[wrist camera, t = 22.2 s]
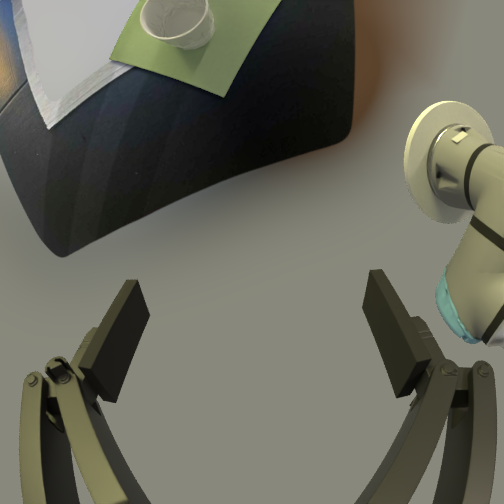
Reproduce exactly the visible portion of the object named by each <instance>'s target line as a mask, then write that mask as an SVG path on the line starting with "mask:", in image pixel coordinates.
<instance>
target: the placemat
mask: <svg viewBox="0 0 504 504" xmlns="http://www.w3.org/2000/svg"><path fill="white" fill-rule="evenodd" d="M146 1H147V0H139V2H138V4H137V5H136V7H135V9H134V11H133V12H132V14H131V16H130V18H129V19H128V21H127V23H126V25H125V27H124V29H123V31H122V33H121V35H120V37H119V39H118V41H117V43H116V45H115V47H114V50H113V52H112V54H111V56H110V58H109V59H110V60H114V61H118V62H122V63H126V64H130V65H133V66H137V67H140V68H144V69H147V70H150V71H153V72H157V73H160V74H163V75H166V76H169V77H172V78H175V79H177V80H180V81H183V82H186V83H189V84H191V85H194V86H197V87H199V88H202V89H204V90H207V91H209V92H212V93H214V94H217V95H219V96H221V97H225V95H226V93H227V91H228V89H229V87H230V85H231V83H232V81H233V79H234V78H235V76H236V74H237V72H238V70H239V69H240V67H241V65H242V63H243V61H244V60H245V58H246V56H247V54H248V53H249V51H250V49H251V47H252V46H253V44H254V42H255V41H256V39H257V37H258V36H259V34H260V32H261V31H262V29H263V28H264V26H265V24H266V23H267V21H268V20H269V18H270V16H271V15H272V13H273V12H274V10H275V9H276V7H277V6H278V4H279V3H280V1H281V0H208V3H209V5H210V8H211V11H212V14H213V17H214V23H215V32H214V34H213V37H212V39H211V40H210V41H208V42H207V43H206V44H205V45H204V46H202V47H199V48H197V49H193V50H183V49H181V48H178V47H174V46H172V45H169V44H167V43H164V42H162V41H160V40H158V39H155V38H153V37H151V36H149V35H148V34H147V33H146V32H145V31H144V30H143V28H142V26H141V23H140V14H141V10H142V8H143V6H144V4H145V2H146Z"/></svg>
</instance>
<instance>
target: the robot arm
mask: <svg viewBox="0 0 504 504" xmlns="http://www.w3.org/2000/svg"><path fill="white" fill-rule="evenodd" d="M427 177H428V181H429V184H430V187H431V189H432V191H433V192H434V194H435V195H436V197H437V198H438V199H440V200H441V201H442V202H444V203H445V204H447V205H448V206H451V207H454V208H459V209H466V210H472V211H475V212H474V214H473V217H472V219H471V221H470V223H469V225H468V228H467V229H466V232H465V234H464V236H463V238H462V240H461V242H460V244H459V246H458V248H457V250H456V251H455V253H454V255H453V257H452V259H451V260H450V262H449V264H448V265H447V266H446V268H445V269H444V274H443V276H442V278H441V279H440V281H439V283H438V285H437V287H436V292H435V297H436V304H437V307H438V309H439V311H440V314H441V316H442V317H443V319H444V321H445V322H446V324H447V325H448V326H449V327H450V329H451V330H452V331H453V332H454V333H455V334H456V335H457V336H458V337H462V338H463V340H464V341H465V342H467V343H470V344H476V343H478V342H480V341H483V342H484V343H485V344H486V345H487V346H488V347H491V346H501V347H502V348H504V148H503V147H500V146H497V145H495V144H492V143H491V142H490V141H489V140H488V139H486V138H485V137H484V136H483V135H482V134H481V133H479V132H478V131H477V130H476V129H474V128H472V127H471V126H468V125H464V124H460V123H454V124H450V125H447V126H445V127H444V128H442V129H441V130H440V131H439V132H438V133H437V135H436V136H435V137H434V139H433V141H432V143H431V145H430V148H429V152H428V156H427ZM362 308H363V311H364V314H365V316H366V318H367V321H368V323H369V326H370V328H371V331H372V333H373V336H374V338H375V341H376V343H377V346H378V349H379V351H380V354H381V357H382V359H383V362H384V365H385V367H386V370H387V373H388V376H389V379H390V382H391V384H392V387H393V390H394V393H395V396H396V398H400V397H404V396H408V395H410V394H411V393H412V391H413V390H414V388H415V390H416V393H417V395H416V397H415V398H414V400H413V401H412V402H411V404H410V406H411V408H410V410H409V412H408V414H407V416H406V418H405V421H404V422H403V425H402V427H401V429H400V431H399V432H398V434H397V436H396V438H395V440H394V442H393V444H392V446H391V448H390V449H389V451H388V453H387V455H386V456H385V458H384V460H383V461H382V463H381V465H380V466H379V468H378V470H377V471H376V473H375V474H374V476H373V478H372V479H371V481H370V482H369V484H368V485H367V487H366V488H365V490H364V491H363V492H362V494H361V495H360V497H359V498H358V499H357V501H356V502H355V503H354V504H408V502H409V501H410V499H411V497H412V495H413V493H414V492H415V490H416V488H417V486H418V484H419V482H420V480H421V478H422V476H423V474H424V472H425V470H426V468H427V466H428V464H429V462H430V459H431V457H432V455H433V452H434V450H435V448H436V445H437V443H438V440H439V438H440V435H441V432H442V430H443V427H444V424H445V421H446V419H447V416H448V422H447V431H446V440H445V447H444V453H443V459H442V465H441V470H440V476H439V480H438V484H437V489H436V492H435V497H434V500H433V504H489V503H490V498H491V492H492V486H493V479H494V470H495V460H496V459H495V458H496V444H497V406H496V389H495V379H494V372H493V368H492V367H491V365H490V364H488V363H487V362H485V361H477V362H476V363H475V364H474V365H473V367H472V368H463V367H458V366H457V365H456V364H455V363H454V362H453V361H451V360H448V359H445V357H444V355H443V353H442V351H441V349H440V348H439V346H438V344H437V342H436V340H435V338H434V337H433V335H432V333H431V331H430V329H429V328H428V326H427V324H426V322H424V321H423V320H422V319H421V318H420V317H419V316H416V317H410V316H409V314H408V312H407V310H406V309H405V307H404V305H403V303H402V302H401V300H400V298H399V296H398V295H397V293H396V291H395V290H394V288H393V286H392V285H391V283H390V281H389V280H388V279H387V277H386V275H385V274H384V272H383V270H382V269H378V270H370V272H369V277H368V282H367V287H366V292H365V297H364V302H363V306H362ZM149 317H150V314H149V312H148V308H147V306H146V303H145V300H144V297H143V294H142V291H141V288H140V285H139V282H138V280H126V282H125V283H124V285H123V286H122V288H121V290H120V291H119V293H118V295H117V296H116V298H115V299H114V301H113V303H112V304H111V306H110V308H109V310H108V311H107V313H106V315H105V316H104V318H103V320H102V322H101V323H100V326H99V327H98V328H95V327H94V328H92V329H91V330H90V331H89V332H88V333H87V334H86V336H85V337H84V339H83V342H82V343H81V345H80V348H78V350H77V352H76V354H75V356H74V358H73V360H72V361H71V363H70V365H69V363H68V362H67V361H66V359H65V358H63V357H55V358H53V359H51V360H50V361H49V362H48V363H47V365H46V367H45V372H46V374H47V375H48V376H49V377H48V378H44V377H43V376H42V375H41V374H40V373H39V372H32V373H30V374H29V375H27V377H26V378H25V380H24V384H23V393H22V402H21V414H20V436H19V453H20V454H19V455H20V477H21V488H22V497H23V504H80V502H79V498H78V493H77V488H76V483H75V477H74V471H73V463H72V455H71V448H72V451H73V453H74V456H75V459H76V462H77V464H78V467H79V469H80V472H81V474H82V477H83V479H84V481H85V483H86V486H87V488H88V490H89V492H90V494H91V497H92V499H93V501H94V502H95V504H151V503H150V501H149V500H148V498H147V497H146V495H145V493H144V492H143V490H142V489H141V487H140V485H139V484H138V482H137V480H136V479H135V477H134V475H133V474H132V472H131V470H130V468H129V467H128V465H127V463H126V461H125V459H124V457H123V455H122V453H121V451H120V449H119V447H118V445H117V444H116V442H115V440H114V437H113V435H112V433H111V431H110V429H109V426H108V424H107V422H106V420H105V418H104V415H103V413H102V410H101V408H100V405H99V403H98V401H97V400H96V398H97V396H98V395H99V396H100V397H101V398H102V399H103V401H108V402H113V403H116V402H117V399H118V396H119V393H120V390H121V387H122V385H123V382H124V379H125V376H126V374H127V371H128V369H129V366H130V364H131V361H132V358H133V356H134V353H135V351H136V348H137V346H138V343H139V341H140V338H141V336H142V333H143V331H144V329H145V326H146V324H147V321H148V319H149ZM70 445H71V447H70Z"/></svg>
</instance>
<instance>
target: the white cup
mask: <svg viewBox="0 0 504 504" xmlns="http://www.w3.org/2000/svg"><path fill="white" fill-rule="evenodd" d="M140 23H141V26H142V28H143V30H144V31H145V32H146V33H147V34H148V35H149V36H151V37H153V38H155V39H158V40H160V41H162V42H164V43H167V44H169V45H172V46H174V47H178V48H181V49H183V50H193V49H197V48H199V47H202V46H204V45H205V44H206V43H207V42H208V41H210V40H211V39H212V37H213V34H214V32H215V23H214V17H213V14H212V11H211V8H210V5H209V3H208V0H147V1H146V2H145V4H144V6H143V8H142V10H141V14H140Z"/></svg>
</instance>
